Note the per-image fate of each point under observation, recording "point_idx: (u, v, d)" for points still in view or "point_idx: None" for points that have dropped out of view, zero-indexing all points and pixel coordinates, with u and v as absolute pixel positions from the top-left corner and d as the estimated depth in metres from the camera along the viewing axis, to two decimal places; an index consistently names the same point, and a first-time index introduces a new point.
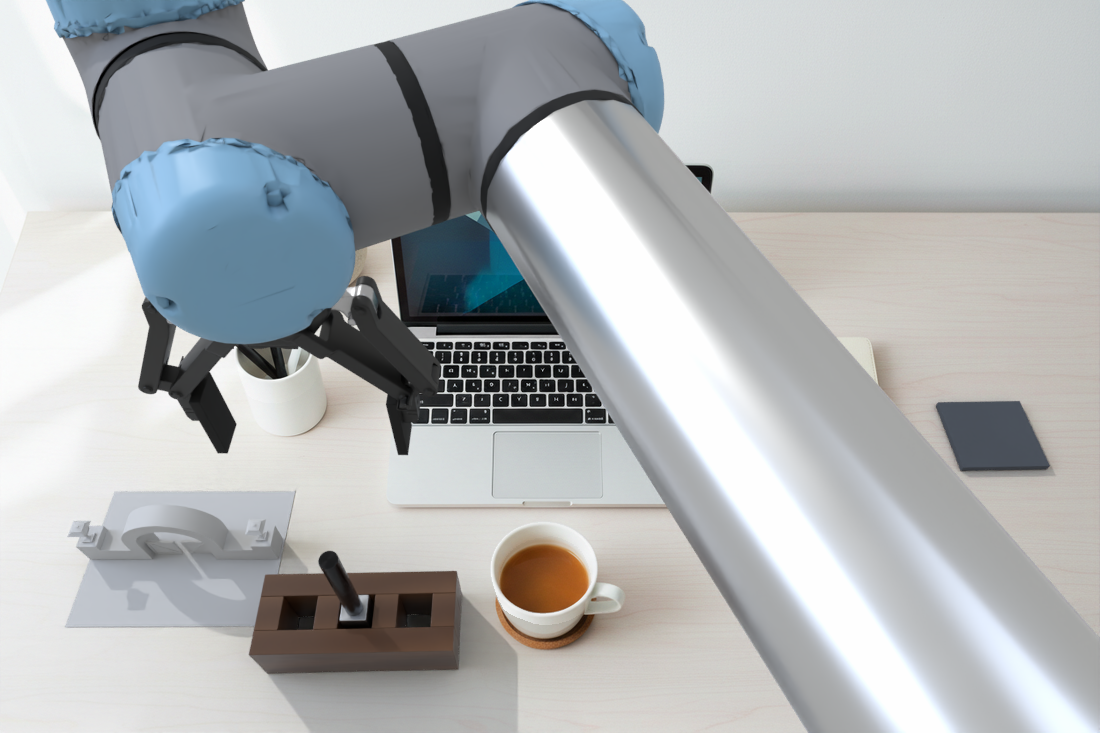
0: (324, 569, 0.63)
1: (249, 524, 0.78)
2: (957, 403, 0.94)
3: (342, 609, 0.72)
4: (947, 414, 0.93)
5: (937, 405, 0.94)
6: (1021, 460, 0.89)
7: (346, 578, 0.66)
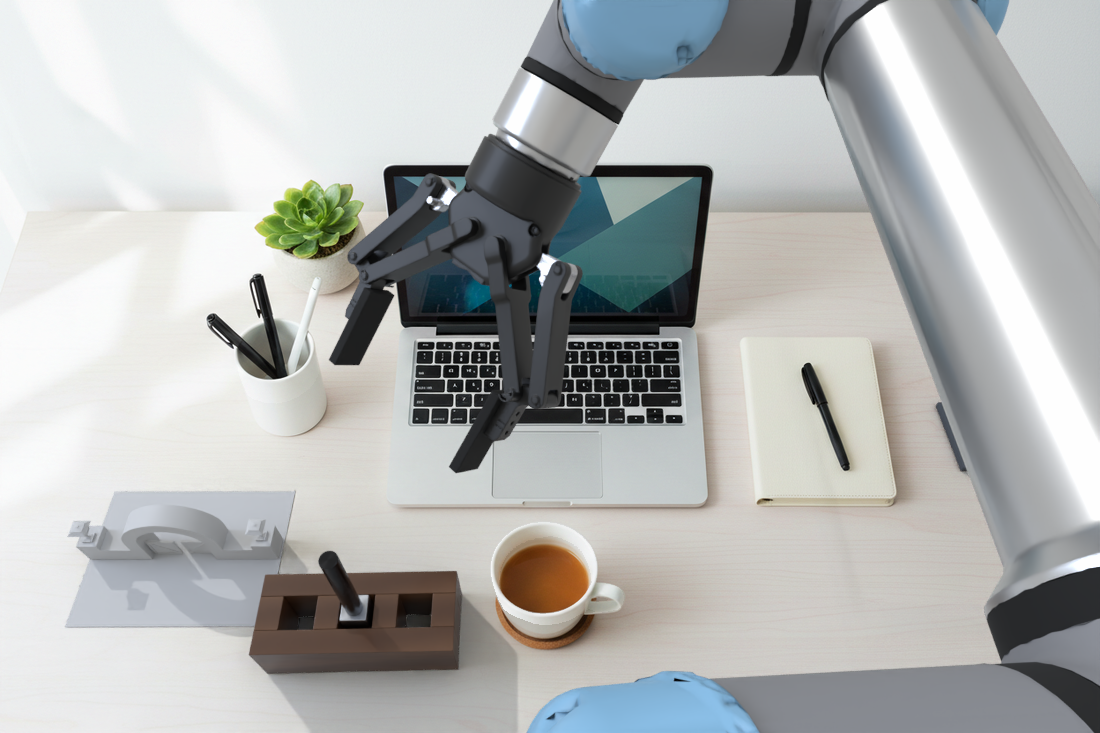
0: (324, 569, 0.63)
1: (249, 524, 0.78)
2: None
3: (342, 609, 0.72)
4: None
5: (937, 405, 0.94)
6: None
7: (346, 578, 0.66)
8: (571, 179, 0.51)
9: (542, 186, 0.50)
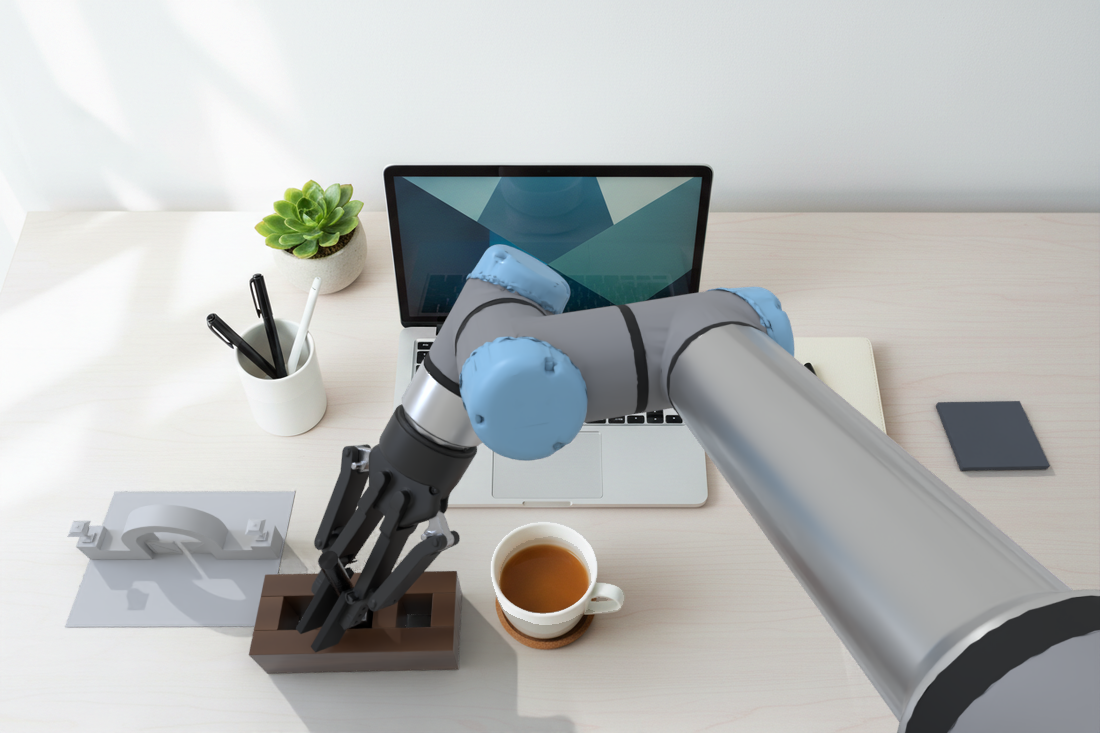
0: (324, 569, 0.63)
1: (249, 524, 0.78)
2: (957, 403, 0.94)
3: None
4: (947, 414, 0.93)
5: (937, 405, 0.94)
6: (1021, 460, 0.89)
7: (346, 578, 0.66)
8: (464, 449, 0.62)
9: (438, 461, 0.61)
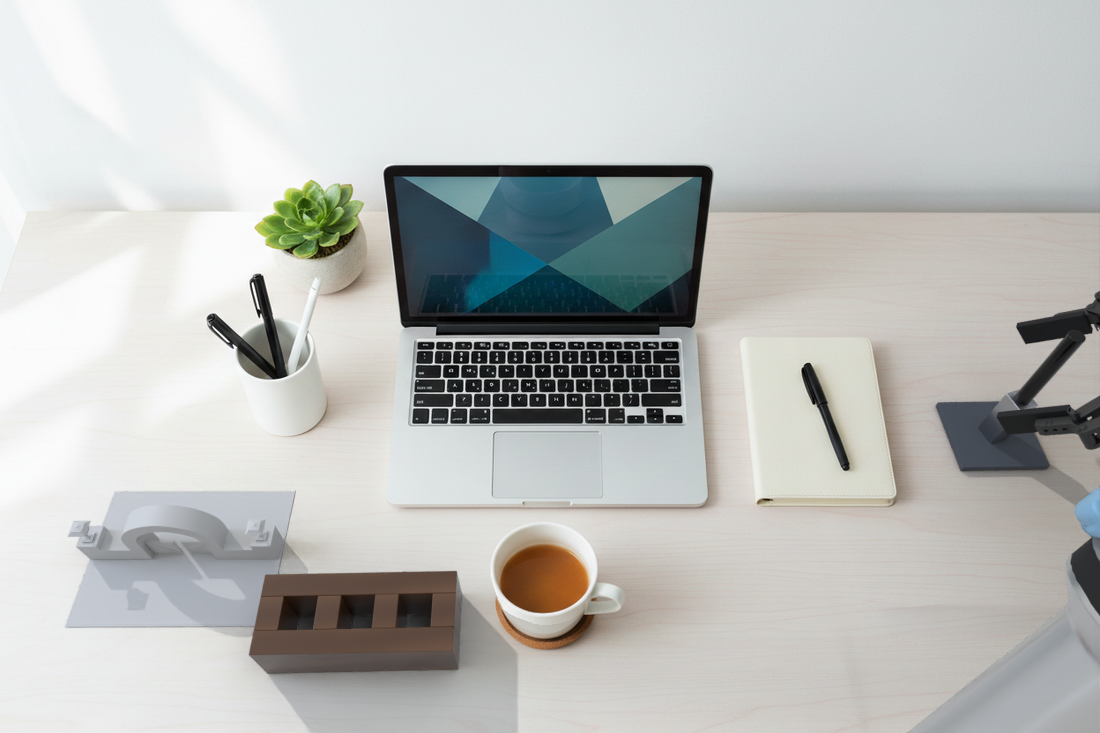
0: (1068, 337, 0.77)
1: (249, 524, 0.78)
2: (957, 403, 0.94)
3: (1014, 392, 0.86)
4: (947, 414, 0.93)
5: (937, 405, 0.94)
6: (1021, 460, 0.89)
7: (1061, 364, 0.79)
8: None
9: None
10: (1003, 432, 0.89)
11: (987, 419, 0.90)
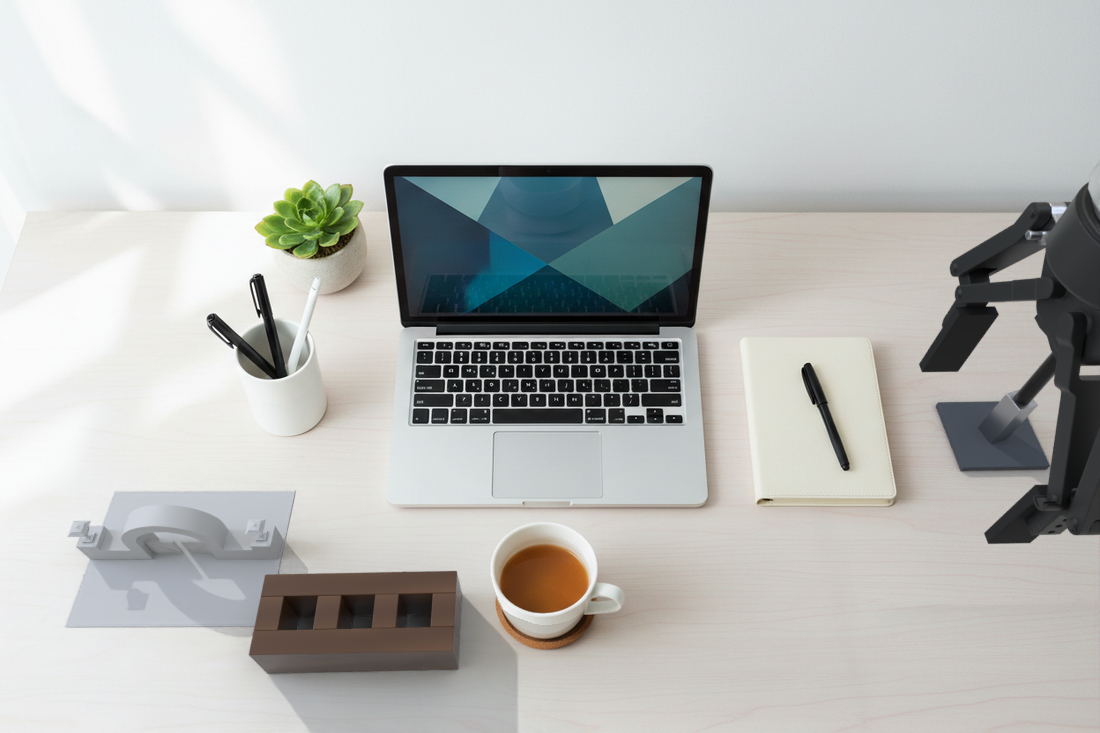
0: None
1: (249, 524, 0.78)
2: (957, 403, 0.94)
3: (1014, 392, 0.86)
4: (947, 414, 0.93)
5: (937, 405, 0.94)
6: (1021, 460, 0.89)
7: None
8: None
9: None
10: (1003, 432, 0.89)
11: (987, 419, 0.90)
